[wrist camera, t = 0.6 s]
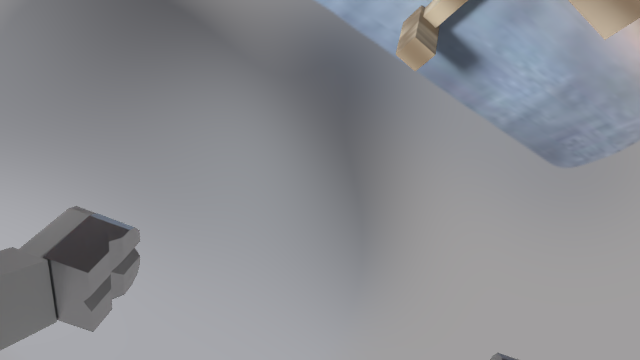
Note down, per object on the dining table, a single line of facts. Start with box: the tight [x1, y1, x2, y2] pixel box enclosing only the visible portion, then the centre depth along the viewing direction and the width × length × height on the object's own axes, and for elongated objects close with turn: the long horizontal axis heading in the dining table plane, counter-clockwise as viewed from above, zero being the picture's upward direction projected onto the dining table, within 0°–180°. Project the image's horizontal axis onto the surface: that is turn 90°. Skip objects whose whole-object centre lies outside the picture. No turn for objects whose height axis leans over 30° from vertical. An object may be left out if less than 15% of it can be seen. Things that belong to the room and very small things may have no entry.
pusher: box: [396, 0, 468, 71], centre depth 51 cm, size 14×8×7 cm, turn 143°
